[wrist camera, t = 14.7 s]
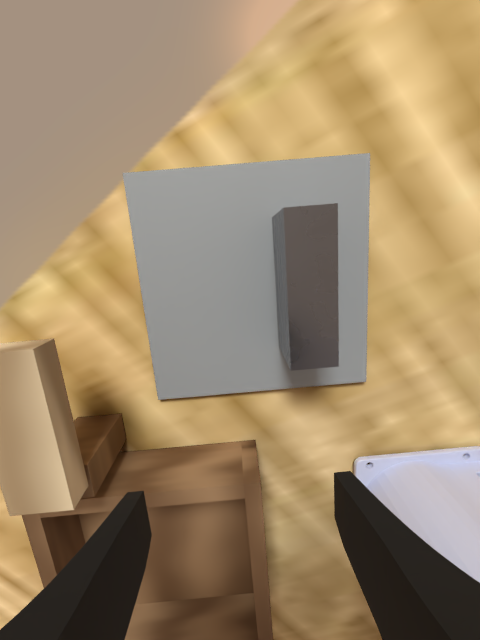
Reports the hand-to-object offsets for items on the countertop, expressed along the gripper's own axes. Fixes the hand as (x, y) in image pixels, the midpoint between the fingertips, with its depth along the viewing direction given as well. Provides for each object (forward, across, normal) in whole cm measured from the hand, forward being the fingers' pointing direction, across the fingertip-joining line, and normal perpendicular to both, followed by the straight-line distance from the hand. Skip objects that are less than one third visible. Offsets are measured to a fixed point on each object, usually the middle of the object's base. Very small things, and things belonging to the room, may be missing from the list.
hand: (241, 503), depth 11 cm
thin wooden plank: (+4, +10, -2) cm, 11 cm away
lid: (+10, -2, -7) cm, 12 cm away
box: (+9, +6, +9) cm, 15 cm away
